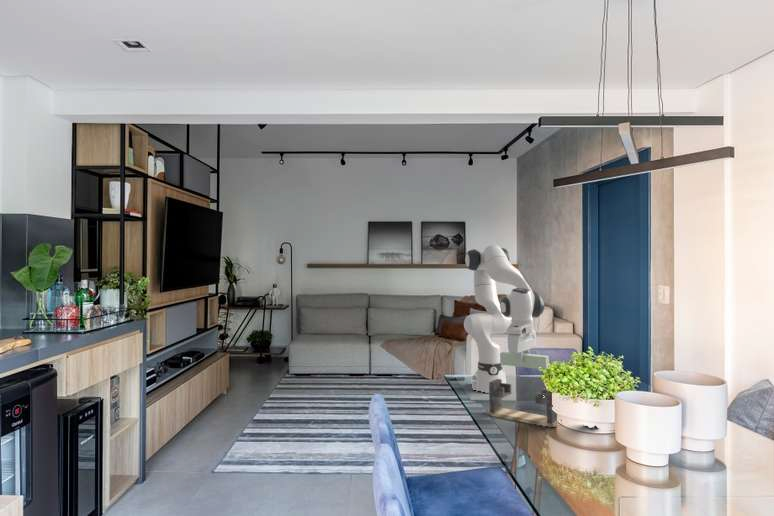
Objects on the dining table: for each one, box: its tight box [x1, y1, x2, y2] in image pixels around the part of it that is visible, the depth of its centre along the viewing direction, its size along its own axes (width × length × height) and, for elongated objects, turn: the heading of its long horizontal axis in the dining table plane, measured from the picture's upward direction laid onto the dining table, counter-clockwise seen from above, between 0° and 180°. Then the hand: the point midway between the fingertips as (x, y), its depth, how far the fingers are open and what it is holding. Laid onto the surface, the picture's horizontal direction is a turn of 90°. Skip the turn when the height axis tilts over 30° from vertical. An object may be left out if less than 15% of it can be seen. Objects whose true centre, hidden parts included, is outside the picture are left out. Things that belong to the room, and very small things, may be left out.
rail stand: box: [487, 379, 557, 428], centre depth 206 cm, size 29×8×14 cm, turn 50°
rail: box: [500, 351, 550, 370], centre depth 206 cm, size 20×3×5 cm, turn 50°
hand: (523, 361), depth 206 cm, fingers closed on rail, 3 cm apart
